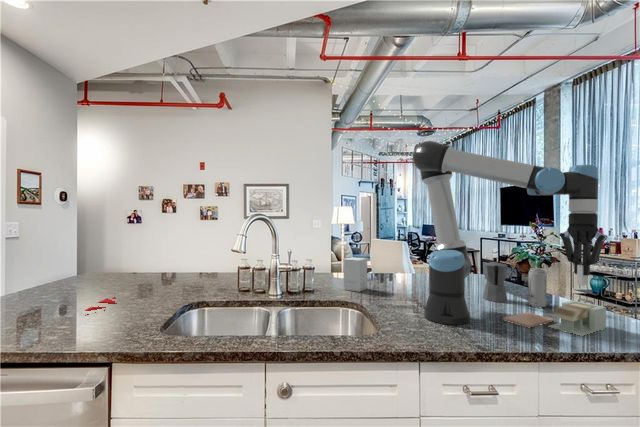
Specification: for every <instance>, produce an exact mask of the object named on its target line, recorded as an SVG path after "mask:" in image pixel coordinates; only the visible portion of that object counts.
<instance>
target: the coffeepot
mask: <svg viewBox="0 0 640 427" xmlns="http://www.w3.org/2000/svg"><path fill="white" fill-rule="evenodd" d="M482 267H483V272H484V273H483V274H484V279H485V280H486V282H485V285H484V291H483V296H482V299H484V300H485V301H487V300H488V302H492V301H493V303H506V302H507V301H508V297H507V296H508V295H507V290H506V286H505V281H506V279H507V278H506V277H507V272H508V264H505V263H502V262H498V258H497V257H493V258H492V261H491V262H485V263H482ZM505 301H506V302H505Z"/></svg>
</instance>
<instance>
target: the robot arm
mask: <svg viewBox="0 0 640 427" xmlns="http://www.w3.org/2000/svg"><path fill="white" fill-rule="evenodd" d="M412 162H413V164H414V166H415V167H416V168H417V169H418V170H419V172H420V178H421V182H422V183H424V185H426V188H427V193H428V194H427V195H428V198H429V204H430V208H431V209H430V210H431V215H432V221H433V226H434V227H433V228H434V232H435V237H436V243H437V244H436V245H435V248H434V251H432V252H431V253H430V254H429V259H428V265H429V266H428V267H429V268H428V274H429V275H428V279H429V280H428V281H429V282H428V286H429V287H428V289H429V290H428V291H429V292H428V294H429V295H428V298H427V299H426V304H425V307H424V309H423V317H424V318H425V319H426V320H429V321H430V322H434V323H438V324H444V325H465V324H467V323H469V322H470V321H471V314H470V312H469V308H468V304H467V302H466V299H465V279H466V278H467V277H468V276H469V274H470V273H471V270H472V261H471V258H470V257H469V255H468V250H467V245H466V244H465V243H464V242H463V241H461V240H462V239H461V236H460V231H459V226H458V225H459V224H458V219H457V215H456V209H455V203H454V200H453V199H454V198H453V193H452V189H451V183H450V180H451V179H452V178H453V173H456V174H461V175H465V176H470V177H473V178H479V179H483V180H488V181H493V182H497V183H499V184H506V185H510V186H515V187H519V188H523V189H526V192H527V195H529V196H538V197H539V196H555V195H556V196H561V195H563V196H567V195H568V211H569V212H570V213H569V214H568V227H567V229H566V230H565V231H564V232H560V233H559V236H560V238H561V239H562V244H563V246H564V251H565V254H566V258H567V262H570V263H572V264H573V266H574V267H573V270H574V275H576V285H577V286H583V287H584V286H587V285H588V284H587V280H588V279H587V277H588V276H590V274H591V270H590V269H591V265H596V264H598V262H599V259H600V255H601V251H602V249H603V245H604V242H605V241H607V239H608V235H607V234H603V233H601V232H600V230H599V228H598V217H599V216H598V213H597V212H599V211H598V210H599V209H598V204H599V203H598V201H599V200H598V198H599V197H598V196H599V180H600V179H599V175H598V174H599V171H598V167H597V166H596V165H595V164H578V165H577V164H576V165H572V166H570V167H569V168H568V171H566V172H565V171H564V172H563V171H562V170H560V169H559V168H557V167H551V166H548V167H544V166H539V165H534V164H529V163H524V162H521V161H513V160H508V159H504V158H499V157H494V156H493V157H492V156H489V155H488V156H487V155H482V154H477V153H473V152H468V151H463V150H457V149H454V147H453V145H448V144H444V143H440V142H437V141H434V140H426V141H423V142H420V144H418V145H417V146H416V147H415V148H414V151H413V153H412ZM571 238H572V239H573V240H572V241H571ZM594 238H595V239H596V240H595V242H594V245H593V248H592V244H593V243H592V242H593V240H594ZM572 243H573V244H572Z"/></svg>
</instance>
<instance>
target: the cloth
mask: <svg viewBox="0 0 640 427" xmlns="http://www.w3.org/2000/svg"><path fill="white" fill-rule="evenodd" d="M111 299H117V298H116V296H114V297H112V298H111ZM111 299H110V298H108V297H106V298H104V299H102V300H100V301H98V302H97V303H108V304H117V303H115V301H112V300H111ZM102 308H106V307H99V306H98V307H92V306H91V307H90V306H89V307H88V308H86V309H84V310H85V311H91V310H97V309H102Z"/></svg>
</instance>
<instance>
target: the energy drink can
mask: <svg viewBox="0 0 640 427" xmlns="http://www.w3.org/2000/svg"><path fill="white" fill-rule="evenodd" d="M527 295H528V298H527V299H528V304H529V306H530V305H531V306H534V307H533V308H535V307H545V308H546V306H547V272H546V269H545V268H542V267H530V268H529V271H528V294H527ZM531 306H530V307H531Z"/></svg>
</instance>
